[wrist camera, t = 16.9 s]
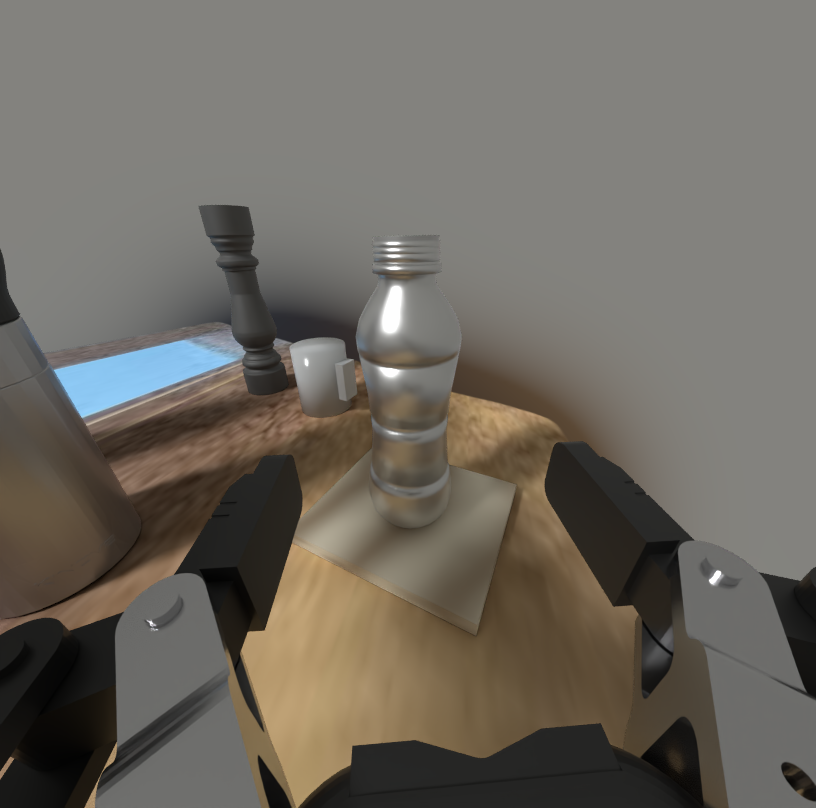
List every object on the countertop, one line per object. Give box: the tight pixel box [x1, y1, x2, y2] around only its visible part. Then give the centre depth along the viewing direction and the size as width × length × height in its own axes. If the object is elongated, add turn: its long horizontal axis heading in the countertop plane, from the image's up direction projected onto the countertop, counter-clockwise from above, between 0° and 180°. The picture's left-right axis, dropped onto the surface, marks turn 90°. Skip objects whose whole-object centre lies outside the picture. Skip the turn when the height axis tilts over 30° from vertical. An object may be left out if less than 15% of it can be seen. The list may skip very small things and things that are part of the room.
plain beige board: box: [292, 448, 517, 636], centre depth 26 cm, size 15×13×1 cm
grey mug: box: [290, 338, 357, 418], centre depth 43 cm, size 8×7×9 cm
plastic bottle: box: [356, 235, 462, 529], centre depth 21 cm, size 6×7×20 cm
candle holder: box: [199, 205, 289, 395], centre depth 45 cm, size 6×6×25 cm
